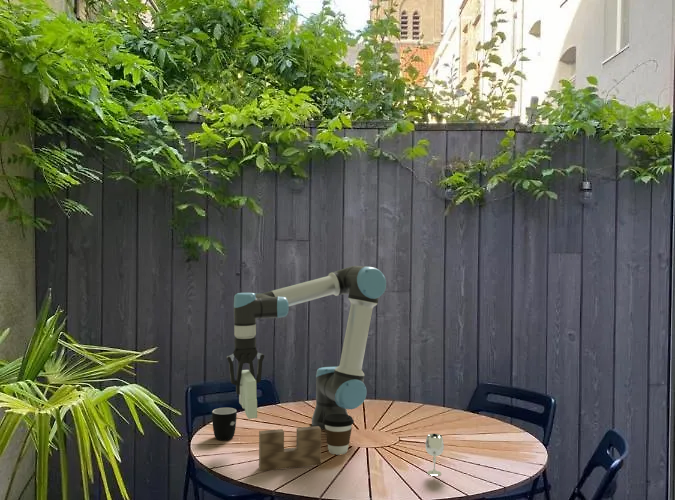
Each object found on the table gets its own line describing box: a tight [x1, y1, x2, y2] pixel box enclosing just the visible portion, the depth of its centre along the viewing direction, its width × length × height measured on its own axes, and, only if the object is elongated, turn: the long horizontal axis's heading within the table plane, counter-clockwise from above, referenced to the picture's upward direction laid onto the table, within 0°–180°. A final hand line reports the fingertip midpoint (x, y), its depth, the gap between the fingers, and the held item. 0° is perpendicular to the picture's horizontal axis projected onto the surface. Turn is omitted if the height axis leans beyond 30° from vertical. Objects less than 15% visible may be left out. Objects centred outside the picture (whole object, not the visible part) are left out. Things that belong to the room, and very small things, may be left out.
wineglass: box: [424, 433, 445, 477], centre depth 195 cm, size 6×6×12 cm
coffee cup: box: [323, 414, 355, 456], centre depth 214 cm, size 11×11×12 cm
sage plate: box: [240, 369, 258, 420], centre depth 211 cm, size 3×20×12 cm, turn 16°
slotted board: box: [258, 426, 322, 472], centre depth 200 cm, size 20×3×12 cm, turn 106°
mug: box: [211, 407, 238, 441], centre depth 229 cm, size 12×9×10 cm
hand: (246, 402), depth 216 cm, fingers closed on sage plate, 3 cm apart
